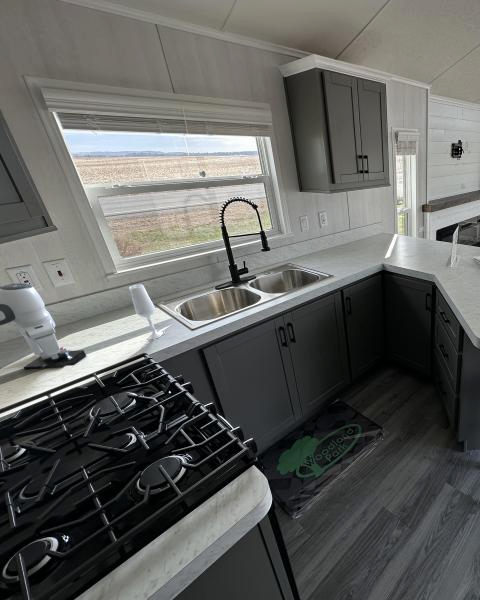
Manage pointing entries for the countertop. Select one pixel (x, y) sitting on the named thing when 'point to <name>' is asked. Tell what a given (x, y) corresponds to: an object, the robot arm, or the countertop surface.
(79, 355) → the tap plate
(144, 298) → the champagne flute
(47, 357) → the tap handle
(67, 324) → the countertop surface
